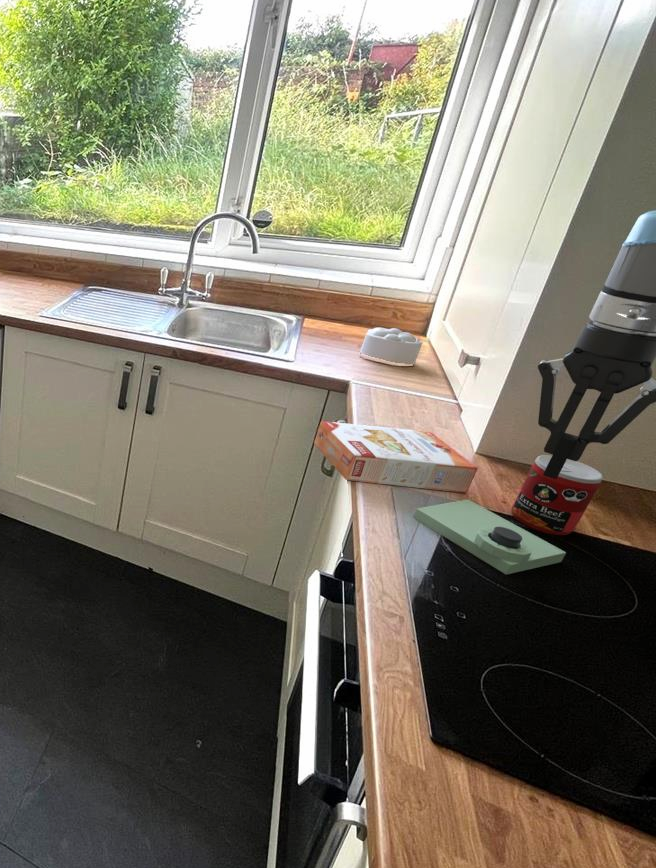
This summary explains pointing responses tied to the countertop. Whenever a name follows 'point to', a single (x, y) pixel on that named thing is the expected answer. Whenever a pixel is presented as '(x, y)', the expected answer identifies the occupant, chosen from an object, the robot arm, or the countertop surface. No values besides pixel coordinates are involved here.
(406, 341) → the lumpy-topped squat cylinder
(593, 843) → the countertop surface
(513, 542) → the button
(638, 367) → the robot arm
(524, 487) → the canned food
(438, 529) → the scale
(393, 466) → the cracker box
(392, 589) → the countertop surface
